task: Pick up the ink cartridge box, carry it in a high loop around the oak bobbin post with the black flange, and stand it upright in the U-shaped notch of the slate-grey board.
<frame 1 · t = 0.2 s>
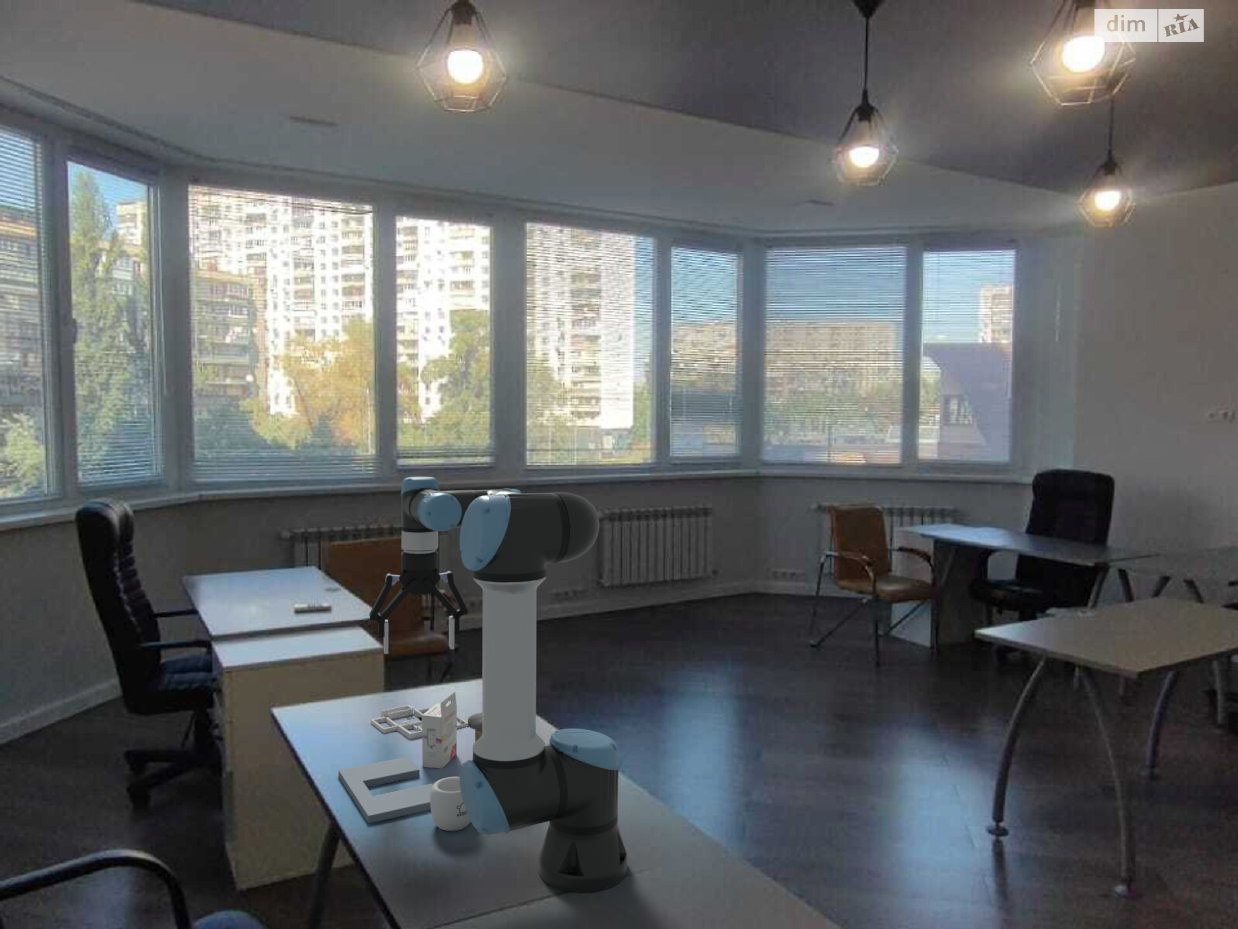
hand: (419, 650, 182), 27 cm above the table, fingers open, 13 cm apart
mug: (461, 823, 163), on the table
bobbin post: (487, 787, 178), on the table
floor plan model: (405, 728, 213), on the table
ink cartridge box: (439, 761, 192), on the table
notched board: (389, 791, 176), on the table
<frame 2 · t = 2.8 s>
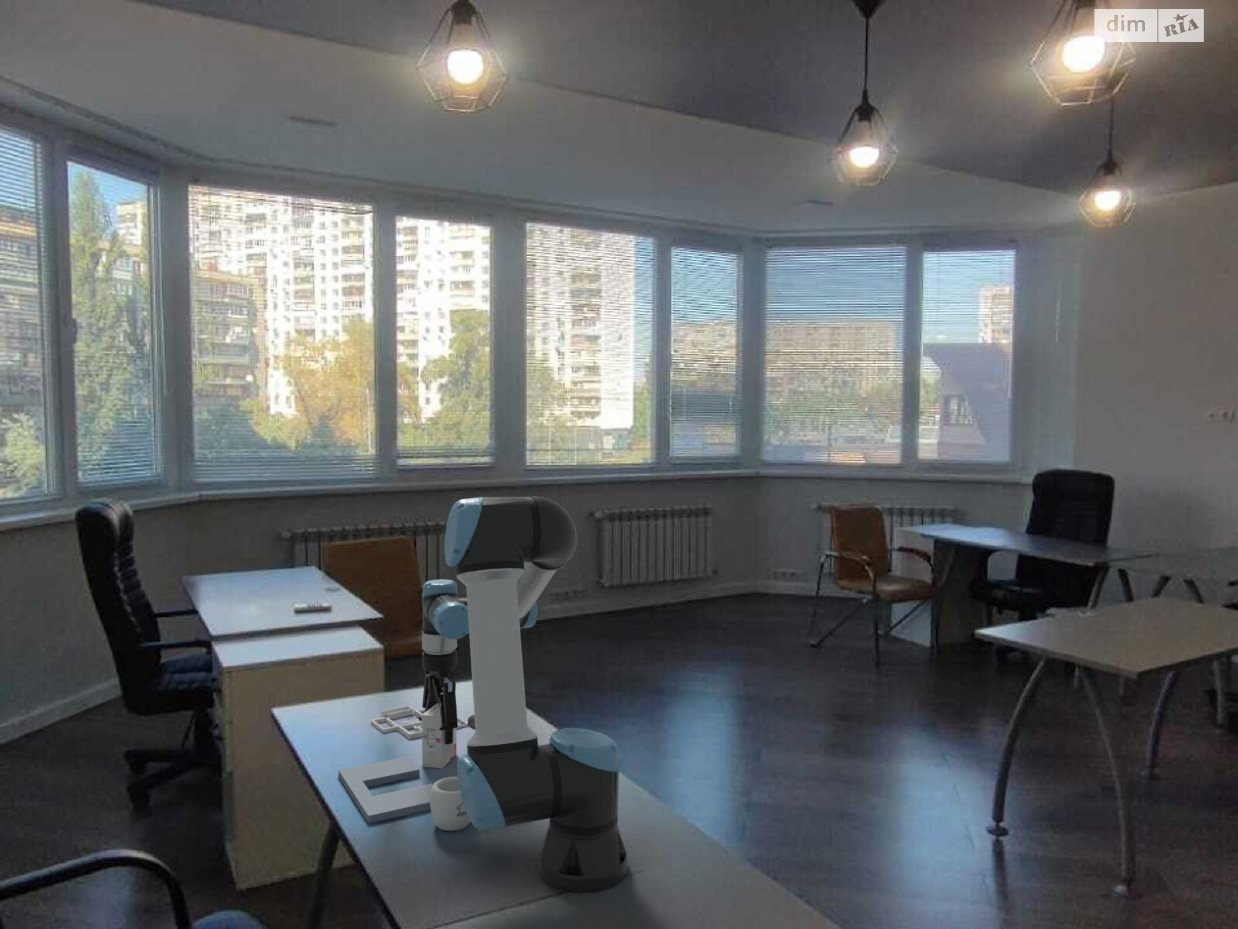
hand: (439, 749, 192), 3 cm above the table, fingers closed on ink cartridge box, 9 cm apart
ink cartridge box: (439, 761, 192), on the table, touching gripper
everything else where it was.
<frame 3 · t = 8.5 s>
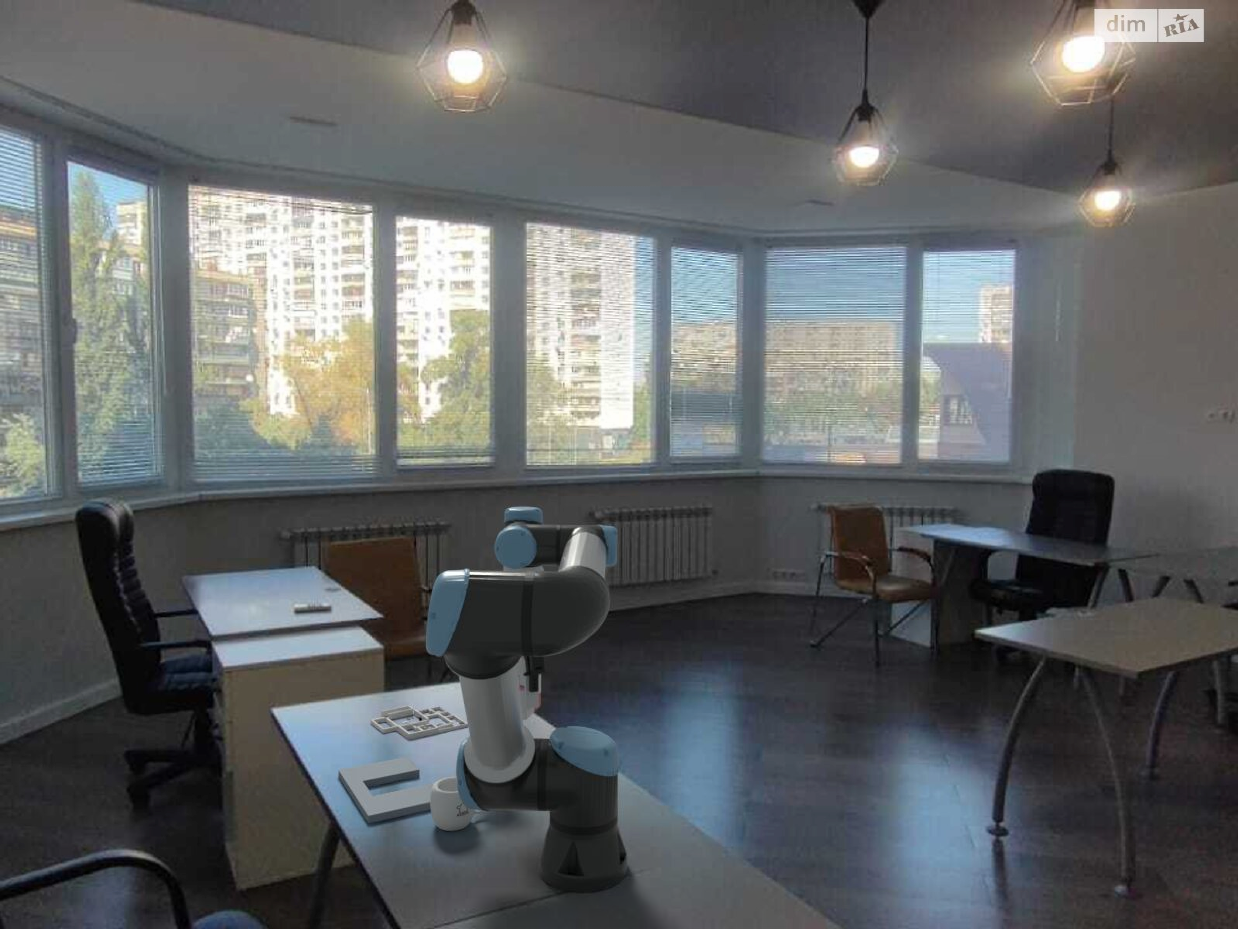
hand: (521, 699, 169), 21 cm above the table, fingers closed on ink cartridge box, 9 cm apart
ink cartridge box: (522, 713, 169), point 19 cm above the table, touching gripper
everything else where it was.
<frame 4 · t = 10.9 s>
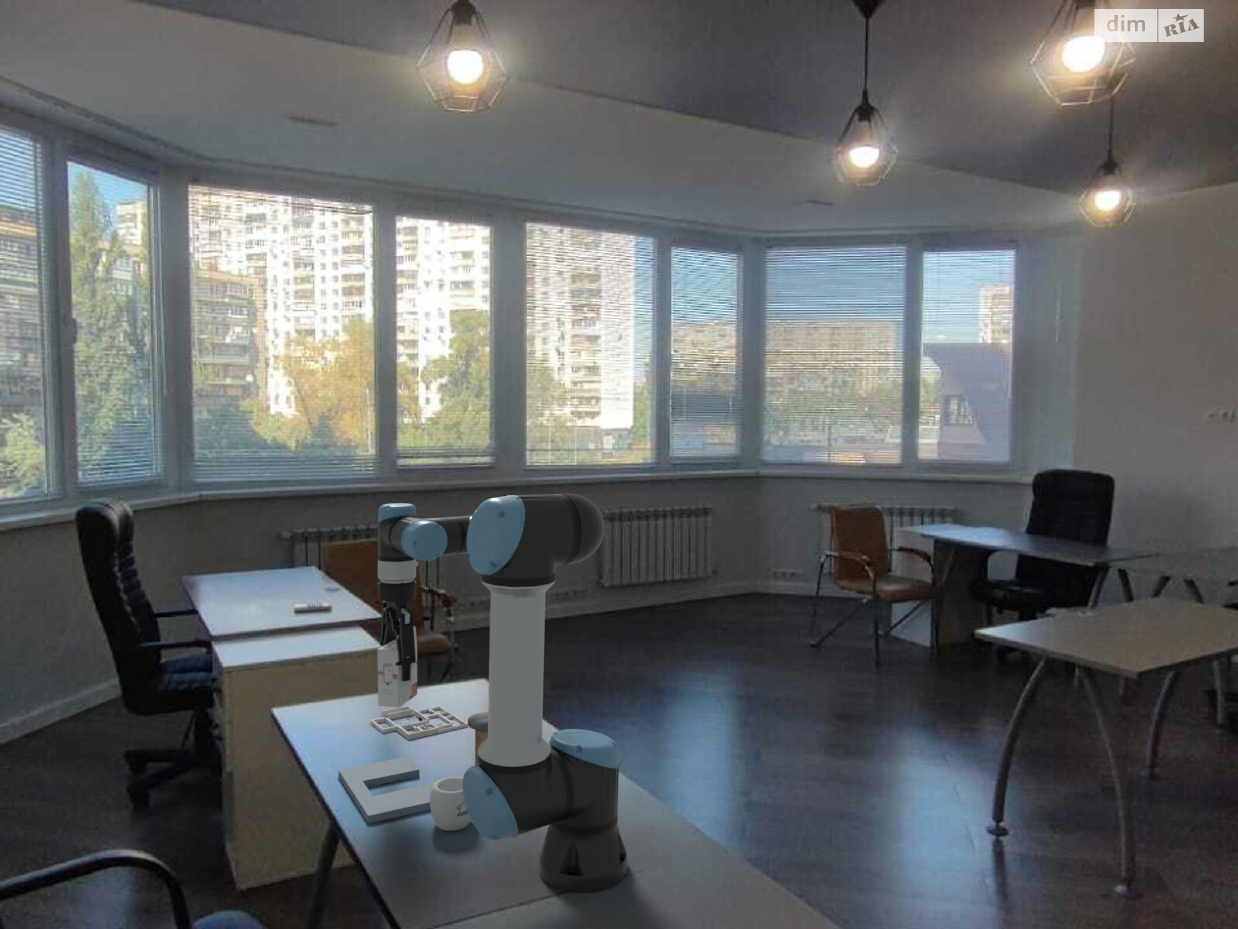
hand: (397, 688, 176), 21 cm above the table, fingers closed on ink cartridge box, 9 cm apart
ink cartridge box: (397, 701, 176), point 18 cm above the table, touching gripper
everything else where it was.
when the fingers open (4 cm above the table, at t = 14.3 s): ink cartridge box stays where it is, resting on notched board.
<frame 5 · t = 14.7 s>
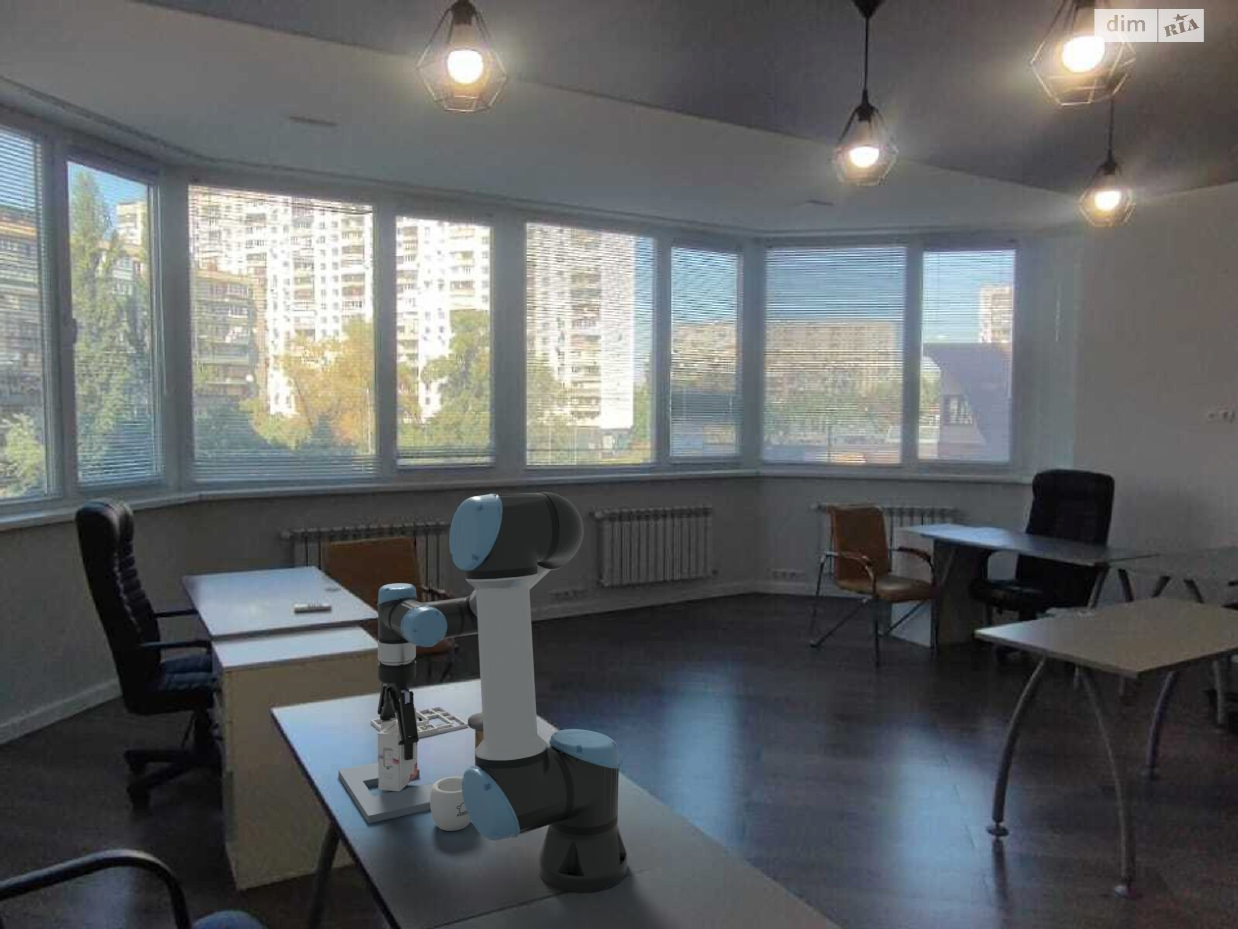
hand: (397, 762, 177), 6 cm above the table, fingers open, 13 cm apart
ink cartridge box: (397, 783, 177), point 1 cm above the table, touching notched board
everything else where it was.
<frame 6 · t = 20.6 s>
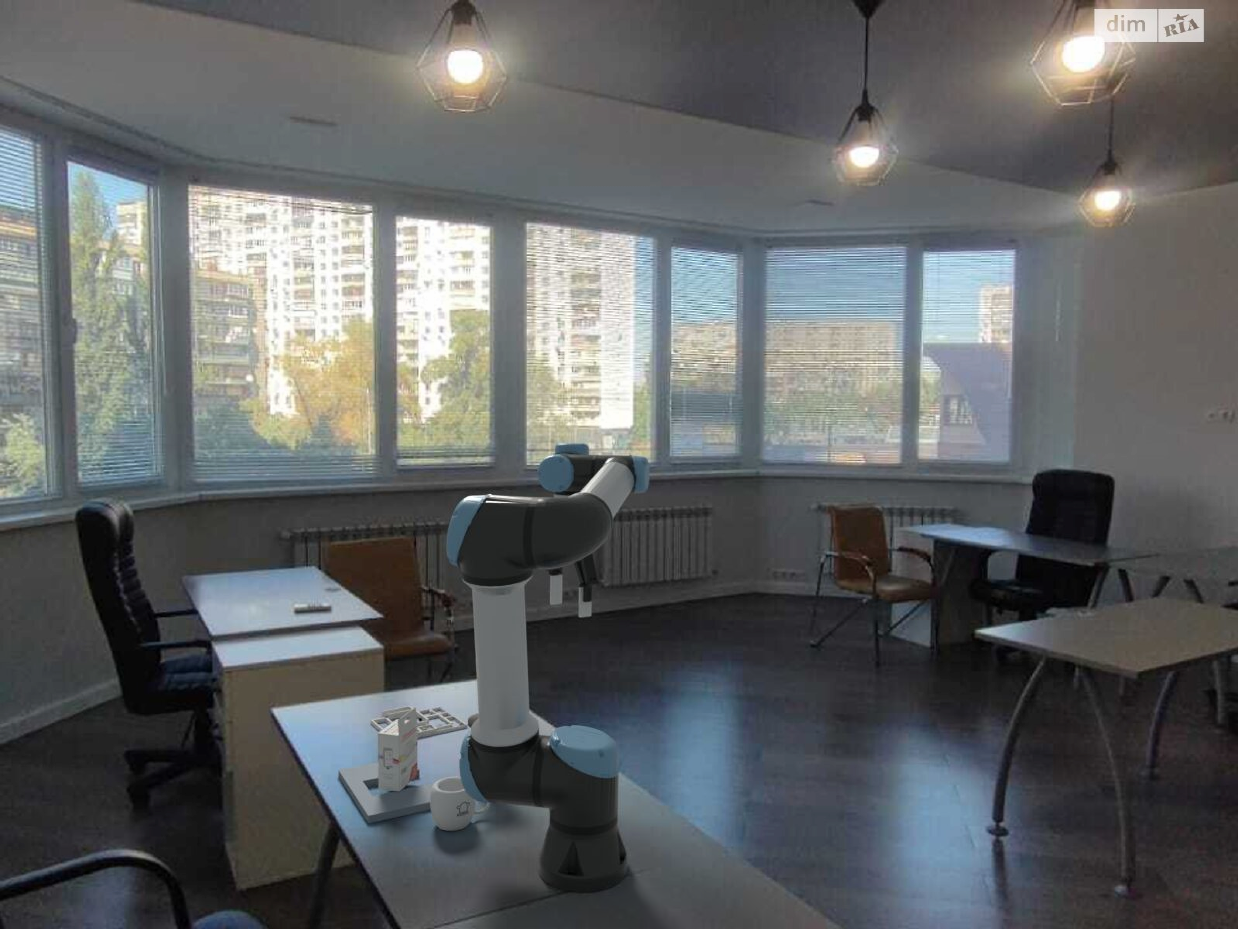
hand: (570, 610, 189), 35 cm above the table, fingers open, 13 cm apart
nothing on the table moved.
at the end: ink cartridge box 0.2 cm from the target spot on the notched board, point 1.3 cm above the notched board's base; ink cartridge box tilted 0°; the gripper is holding nothing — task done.
